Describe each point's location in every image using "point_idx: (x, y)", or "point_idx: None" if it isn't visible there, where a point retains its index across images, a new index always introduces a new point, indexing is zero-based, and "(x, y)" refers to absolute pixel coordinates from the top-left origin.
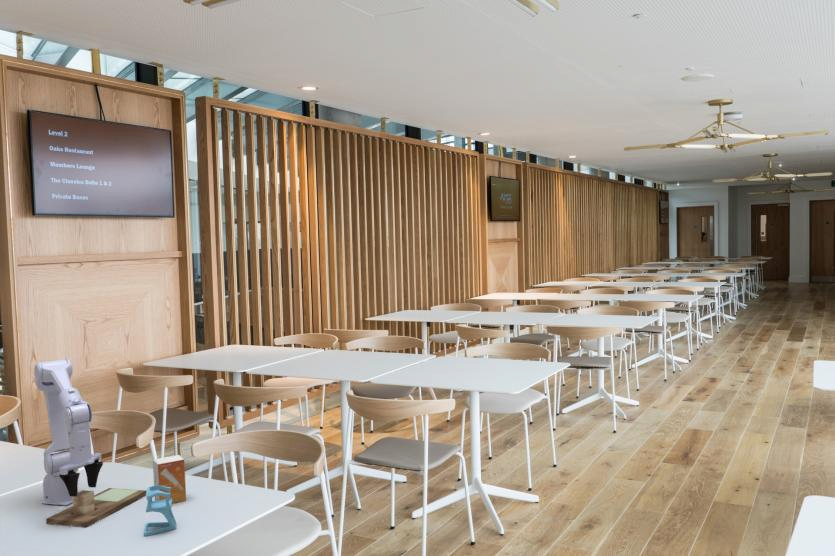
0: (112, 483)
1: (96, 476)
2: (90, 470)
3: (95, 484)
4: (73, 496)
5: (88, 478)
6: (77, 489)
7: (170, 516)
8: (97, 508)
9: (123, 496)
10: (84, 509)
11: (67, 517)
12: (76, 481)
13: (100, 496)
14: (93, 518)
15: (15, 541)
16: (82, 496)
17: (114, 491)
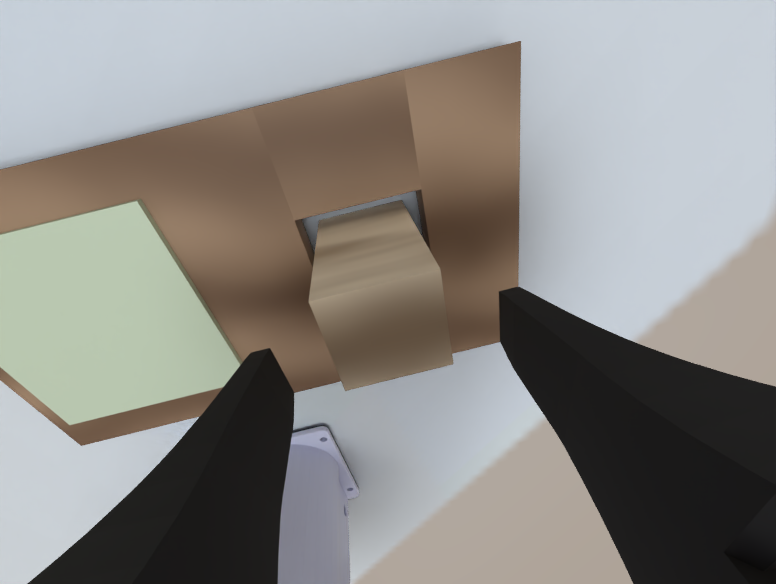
0: (39, 497)
1: (209, 436)
2: (238, 572)
3: (251, 364)
4: (449, 347)
5: (277, 470)
6: (532, 317)
7: None
8: (297, 229)
9: (49, 254)
10: (413, 222)
11: (480, 259)
12: (646, 376)
13: (182, 375)
14: (446, 59)
15: (702, 256)
16: (440, 277)
17: (74, 380)
